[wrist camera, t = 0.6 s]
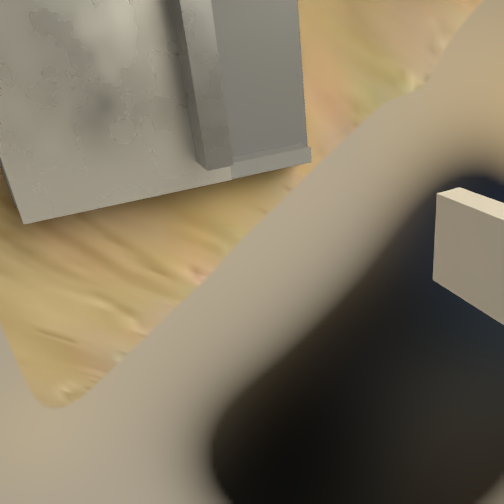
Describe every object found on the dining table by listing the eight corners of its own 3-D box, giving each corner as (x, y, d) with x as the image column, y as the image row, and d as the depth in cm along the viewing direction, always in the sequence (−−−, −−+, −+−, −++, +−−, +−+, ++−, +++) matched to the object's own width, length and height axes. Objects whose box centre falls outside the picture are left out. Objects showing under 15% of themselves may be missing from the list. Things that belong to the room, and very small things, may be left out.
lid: (-67, -43, 21) (-87, -58, 18) (195, -62, 24) (211, -77, 21) (24, 221, 26) (19, 240, 23) (229, 177, 29) (245, 189, 27)
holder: (-59, -37, 23) (-74, -47, 21) (284, -63, 28) (304, -74, 26) (25, 210, 29) (21, 224, 26) (300, 153, 34) (318, 160, 31)
